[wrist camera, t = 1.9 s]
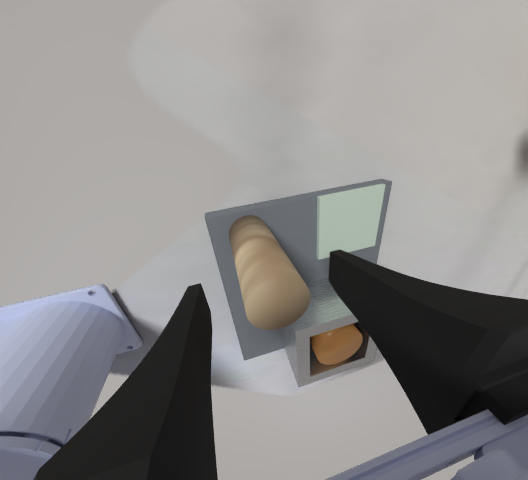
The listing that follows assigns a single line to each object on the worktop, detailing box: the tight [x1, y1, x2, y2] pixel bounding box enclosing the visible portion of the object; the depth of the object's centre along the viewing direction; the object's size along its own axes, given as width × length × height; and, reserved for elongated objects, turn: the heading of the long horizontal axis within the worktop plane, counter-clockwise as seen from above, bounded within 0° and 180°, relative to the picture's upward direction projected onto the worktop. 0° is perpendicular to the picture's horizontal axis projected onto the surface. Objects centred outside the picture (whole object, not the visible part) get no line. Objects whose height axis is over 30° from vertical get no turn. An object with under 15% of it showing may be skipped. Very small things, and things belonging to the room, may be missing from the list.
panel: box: [205, 179, 392, 361], centre depth 21 cm, size 16×18×1 cm
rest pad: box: [317, 184, 385, 260], centre depth 18 cm, size 6×6×1 cm
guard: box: [281, 277, 377, 387], centre depth 21 cm, size 8×8×5 cm
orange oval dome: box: [310, 323, 363, 365], centre depth 20 cm, size 5×5×2 cm
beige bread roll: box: [229, 215, 311, 330], centre depth 13 cm, size 3×3×8 cm
